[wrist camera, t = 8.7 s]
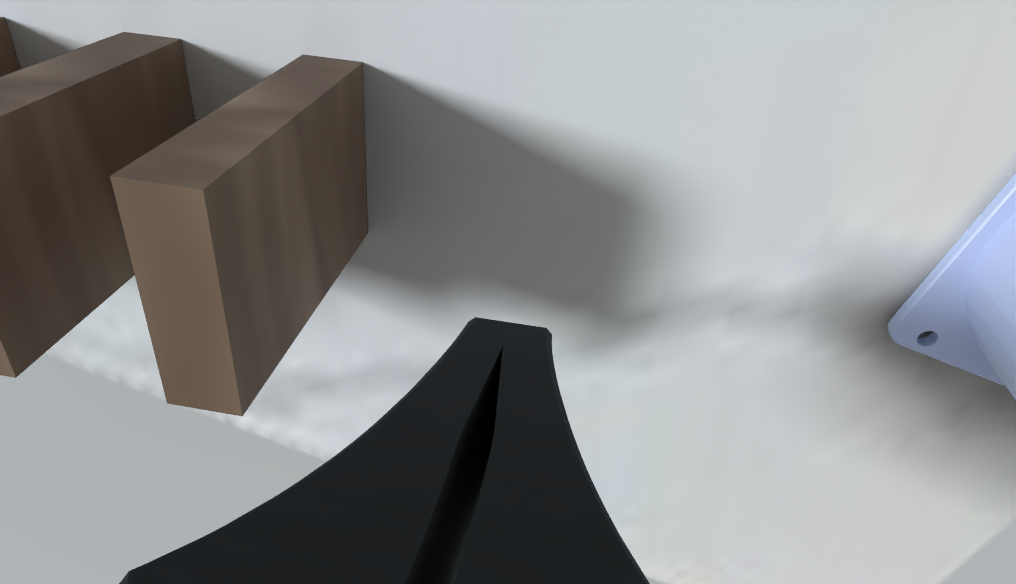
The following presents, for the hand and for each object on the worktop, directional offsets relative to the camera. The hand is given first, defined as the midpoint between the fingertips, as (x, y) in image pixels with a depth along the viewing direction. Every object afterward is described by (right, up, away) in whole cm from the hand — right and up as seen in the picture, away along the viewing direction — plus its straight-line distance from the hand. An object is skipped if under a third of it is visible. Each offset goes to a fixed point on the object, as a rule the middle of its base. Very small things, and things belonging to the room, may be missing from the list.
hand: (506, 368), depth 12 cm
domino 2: (-5, +5, +7) cm, 10 cm away
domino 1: (-10, +6, +8) cm, 14 cm away
